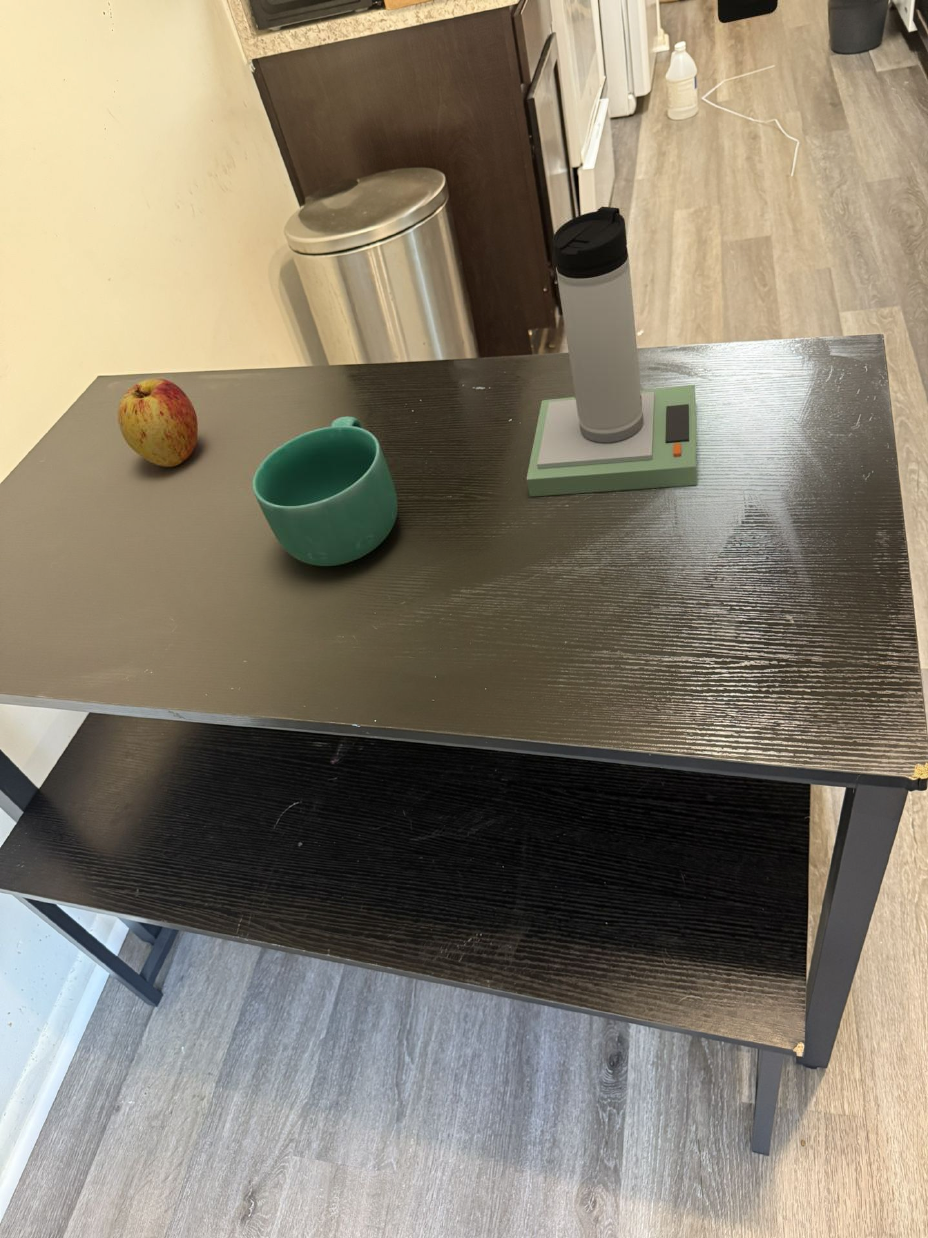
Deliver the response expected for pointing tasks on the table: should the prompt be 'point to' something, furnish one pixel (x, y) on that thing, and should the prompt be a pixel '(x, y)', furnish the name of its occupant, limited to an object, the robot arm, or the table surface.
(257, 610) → the table surface
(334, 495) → the mug
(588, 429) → the travel mug
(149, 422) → the apple
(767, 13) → the robot arm
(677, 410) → the scale
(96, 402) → the table surface
